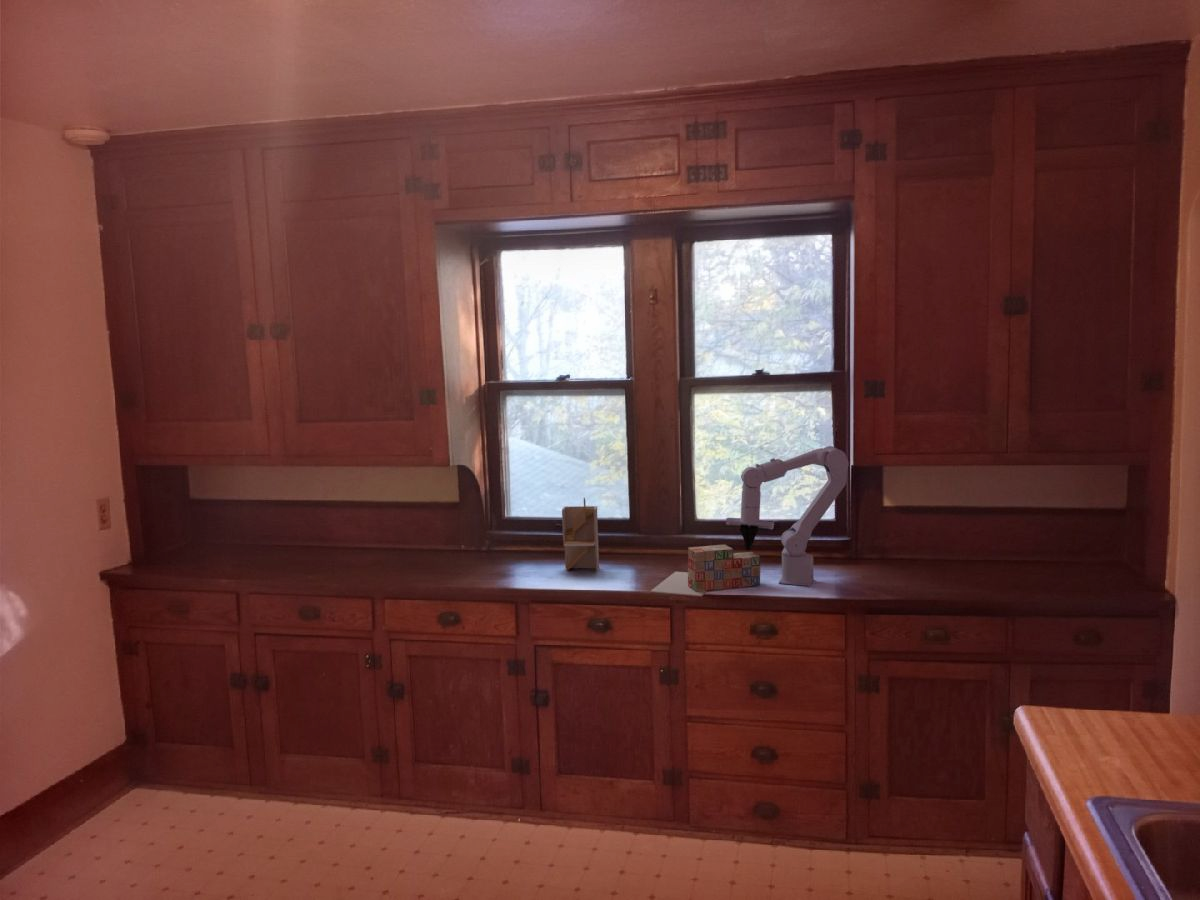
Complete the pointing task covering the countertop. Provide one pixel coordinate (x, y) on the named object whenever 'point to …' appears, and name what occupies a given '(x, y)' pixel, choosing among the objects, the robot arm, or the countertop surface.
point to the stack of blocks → (721, 568)
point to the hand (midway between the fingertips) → (748, 549)
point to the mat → (677, 586)
